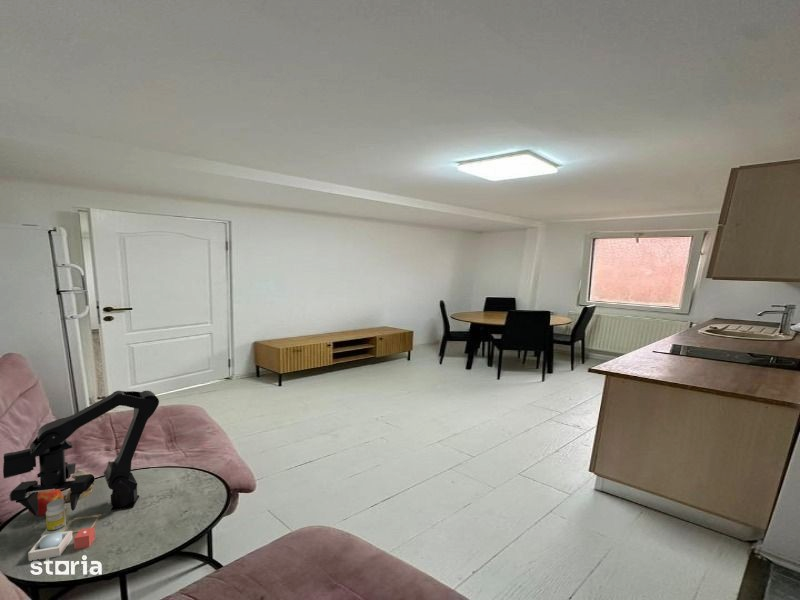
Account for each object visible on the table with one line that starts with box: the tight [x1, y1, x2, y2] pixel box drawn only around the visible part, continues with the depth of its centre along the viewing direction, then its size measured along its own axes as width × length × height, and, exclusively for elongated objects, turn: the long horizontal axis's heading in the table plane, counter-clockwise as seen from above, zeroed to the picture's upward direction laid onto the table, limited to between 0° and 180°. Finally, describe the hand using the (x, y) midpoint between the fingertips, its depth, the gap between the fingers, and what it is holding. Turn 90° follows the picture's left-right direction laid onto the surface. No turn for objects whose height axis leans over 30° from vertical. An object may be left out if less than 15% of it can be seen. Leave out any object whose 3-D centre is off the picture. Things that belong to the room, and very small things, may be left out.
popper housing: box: [27, 530, 74, 562], centre depth 108 cm, size 7×7×2 cm
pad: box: [40, 519, 73, 538], centre depth 116 cm, size 6×6×1 cm
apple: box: [28, 489, 64, 517], centre depth 122 cm, size 8×8×8 cm
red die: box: [73, 526, 96, 550], centre depth 110 cm, size 4×4×4 cm
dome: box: [39, 532, 62, 549], centre depth 108 cm, size 5×5×3 cm
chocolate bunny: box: [64, 468, 95, 503], centre depth 131 cm, size 6×8×10 cm
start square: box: [64, 513, 102, 534], centre depth 118 cm, size 7×7×1 cm
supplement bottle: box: [45, 498, 68, 533], centre depth 115 cm, size 5×5×8 cm
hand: (55, 512), depth 115 cm, fingers open, 9 cm apart
